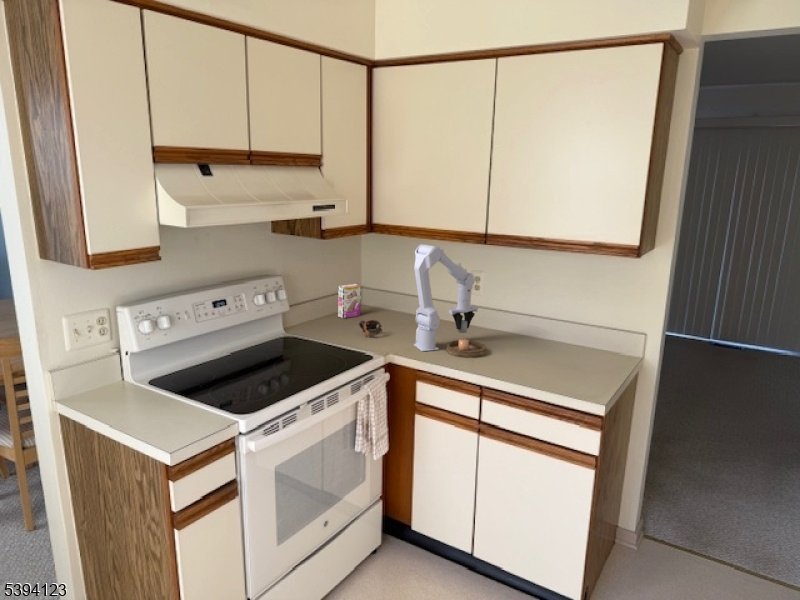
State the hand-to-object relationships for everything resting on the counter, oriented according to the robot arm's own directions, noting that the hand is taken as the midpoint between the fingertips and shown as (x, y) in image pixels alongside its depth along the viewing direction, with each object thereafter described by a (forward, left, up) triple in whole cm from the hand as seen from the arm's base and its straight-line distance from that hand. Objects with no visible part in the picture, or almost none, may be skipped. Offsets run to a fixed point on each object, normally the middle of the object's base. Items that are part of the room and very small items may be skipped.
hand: (462, 328), depth 244 cm
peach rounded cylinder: (+18, -9, -4) cm, 21 cm away
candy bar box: (-54, -37, -6) cm, 66 cm away
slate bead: (0, 0, -2) cm, 2 cm away
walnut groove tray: (+15, -6, -5) cm, 17 cm away
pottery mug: (-20, -37, -6) cm, 42 cm away
